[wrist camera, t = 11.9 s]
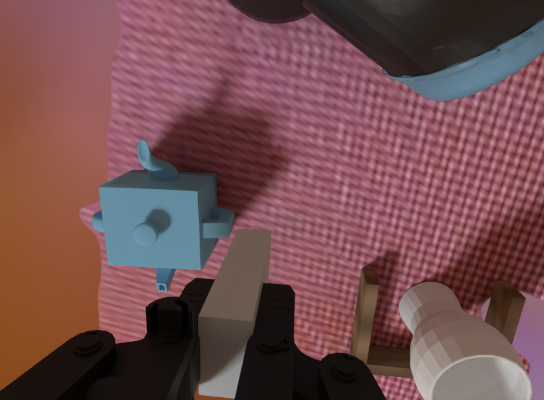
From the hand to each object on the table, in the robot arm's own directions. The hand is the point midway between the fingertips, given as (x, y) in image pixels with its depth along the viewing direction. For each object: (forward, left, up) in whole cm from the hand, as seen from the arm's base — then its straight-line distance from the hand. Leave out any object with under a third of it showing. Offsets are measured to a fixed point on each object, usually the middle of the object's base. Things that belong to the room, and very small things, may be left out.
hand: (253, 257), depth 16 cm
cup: (+20, +21, -30) cm, 41 cm away
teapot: (+7, -13, -30) cm, 33 cm away
